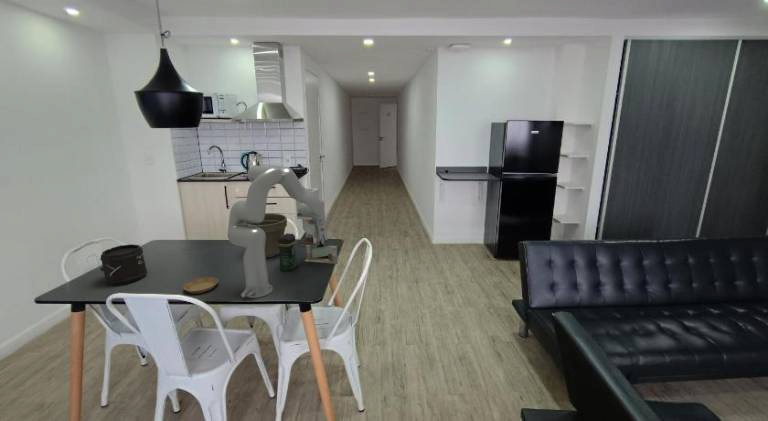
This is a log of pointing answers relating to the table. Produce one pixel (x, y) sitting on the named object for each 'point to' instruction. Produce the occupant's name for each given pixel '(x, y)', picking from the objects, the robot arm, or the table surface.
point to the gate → (321, 251)
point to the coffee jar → (287, 252)
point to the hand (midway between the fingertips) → (320, 250)
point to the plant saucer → (200, 285)
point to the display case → (307, 223)
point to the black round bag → (123, 264)
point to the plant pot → (272, 231)
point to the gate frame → (331, 259)
